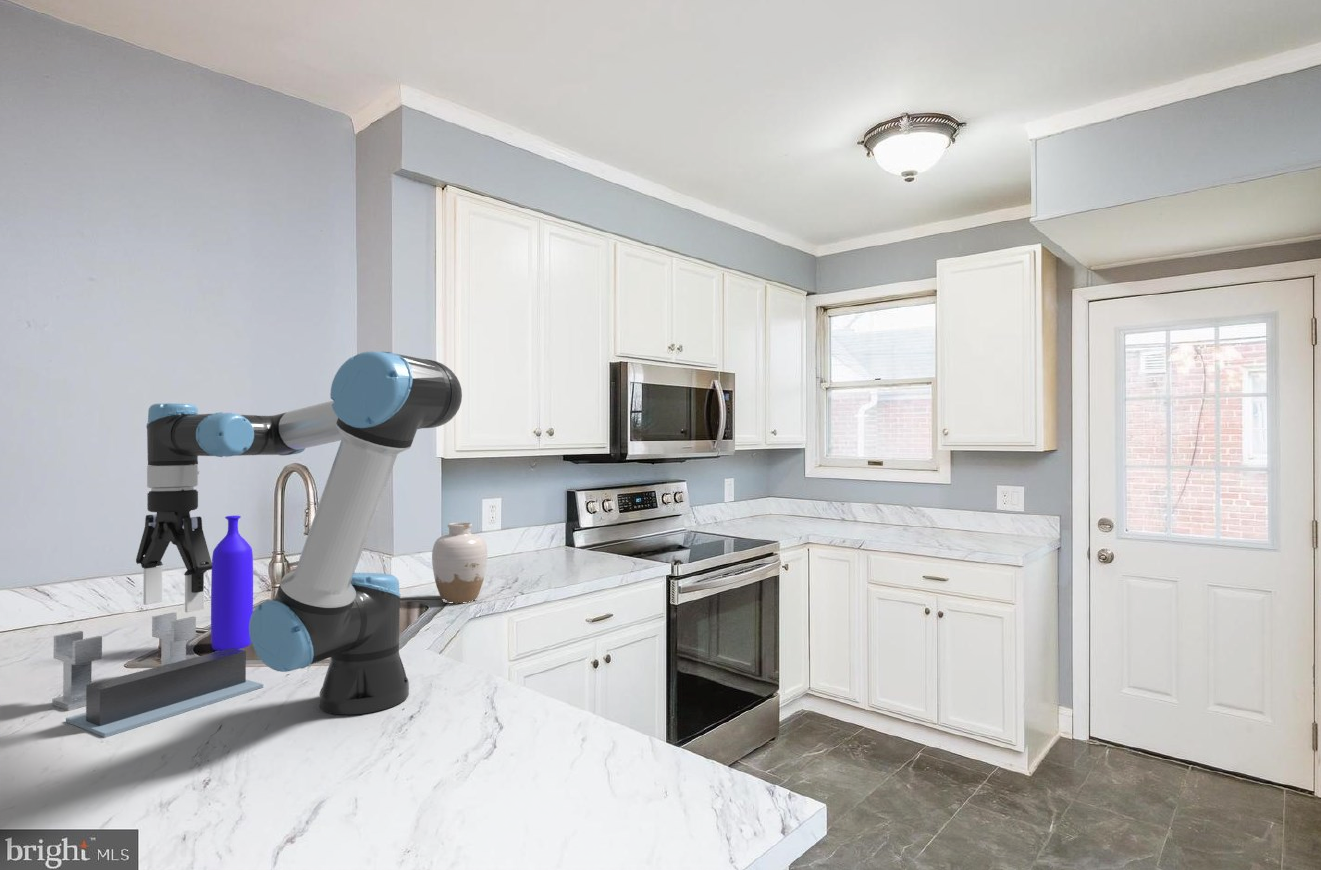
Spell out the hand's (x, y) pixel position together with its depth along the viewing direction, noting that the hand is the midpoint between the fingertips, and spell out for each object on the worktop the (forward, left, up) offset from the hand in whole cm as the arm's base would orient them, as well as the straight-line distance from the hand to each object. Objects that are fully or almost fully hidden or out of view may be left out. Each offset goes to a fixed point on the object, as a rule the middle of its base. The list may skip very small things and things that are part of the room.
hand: (173, 607), depth 126 cm
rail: (0, 0, -17) cm, 17 cm away
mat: (0, 0, -17) cm, 17 cm away
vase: (+14, -86, -18) cm, 89 cm away
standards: (+15, 0, -17) cm, 23 cm away
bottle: (+26, -26, -18) cm, 41 cm away
